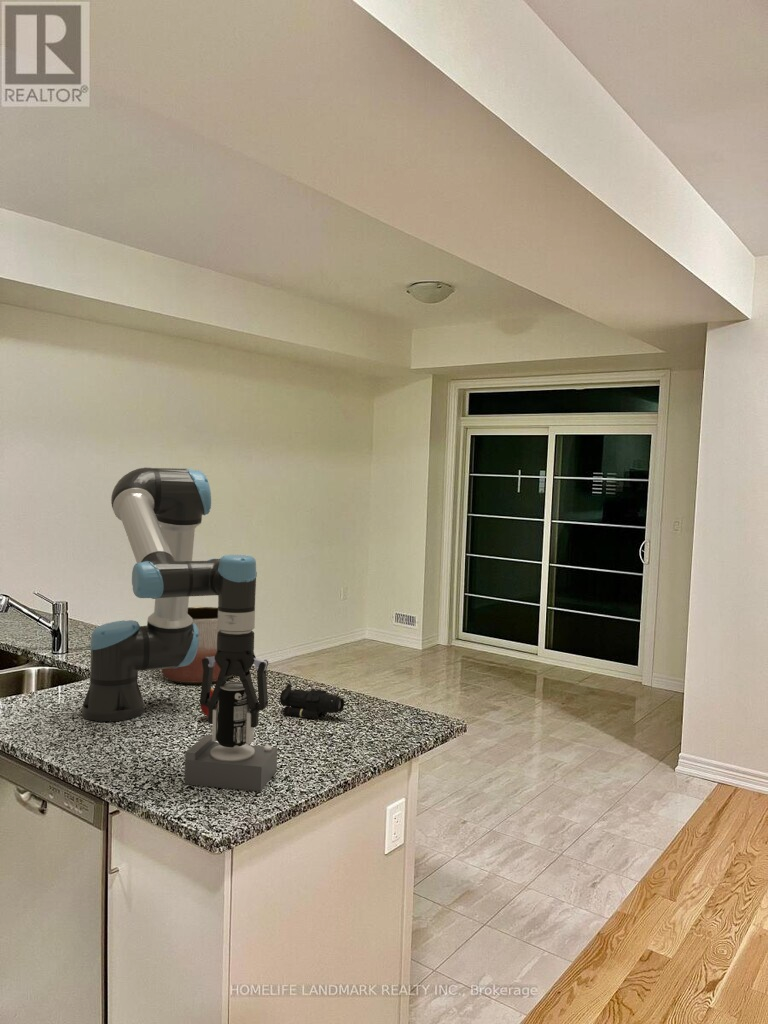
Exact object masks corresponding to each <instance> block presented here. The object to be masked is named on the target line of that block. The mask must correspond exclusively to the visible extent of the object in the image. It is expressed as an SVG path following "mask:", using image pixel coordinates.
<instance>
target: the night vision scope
mask: <svg viewBox="0 0 768 1024" xmlns="http://www.w3.org/2000/svg"><path fill="white" fill-rule="evenodd" d="M292 687H293V685H292V684H291V683H289V684H288V685H287V686H286V687H285V688H284V689H283V690H281V693H280V695H279V703H280V705H281V706H284V709H283V714H284V715H286V716H290V717H291V716H292V717H298V718H299V717H300V718H306V719H307V718H308V719H312V720H316V719H319V716H320V715H324V714H325V715H326V714H334V713H335V714H338V713H341V712H343V710H344V707H345V700H344V698H342V697H340V696H339V695H336V694H333V693H330V694H329V693H328V692H327V691H326V690H324V689H323V690H322V689H321V688H320V689H313V688H311V689H310V690H305V689H304V690H302V689H296V688H295V689H292Z"/></svg>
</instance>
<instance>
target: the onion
mask: <svg viewBox="0 0 768 1024" xmlns="http://www.w3.org/2000/svg"><path fill="white" fill-rule="evenodd" d="M213 691H214V688H213V687H211V692H210V699H211V696H212V693H213ZM199 706H200V711H202V714H204V715H205V716H206V717H207V718H208V717H209V716H208V715H209V709H208V707H206V706H204V705H203V706H202V705H200V704H199ZM217 706H218V705H217Z"/></svg>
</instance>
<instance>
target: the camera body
mask: <svg viewBox="0 0 768 1024" xmlns="http://www.w3.org/2000/svg"><path fill="white" fill-rule="evenodd" d="M184 755H185V756H184V757H185V758H184V759H185V760H184V785H189V786H198V787H199V786H202V787H210V788H221V789H232V790H241V791H251V792H262V791H263V790H264V788H265V787H266V786H267V784H269V782H270V780H272V778H273V776H274V775H275V774H276V772H277V771H278V747H273V746H272V745H265V746H261V745H251V744H245V745H243V746H239V747H224V746H221V745H220V744H219V742H218V741H216V742H215V741H212V734H205V735H204V736H202V737H201V738H200V739H199V740H198V741H197V742H196V743H194V745H192V746H191V747H190V748H189V749H188V750H186V751H185V753H184Z"/></svg>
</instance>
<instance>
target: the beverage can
mask: <svg viewBox="0 0 768 1024" xmlns="http://www.w3.org/2000/svg"><path fill="white" fill-rule="evenodd" d="M220 688H221V689H220V691H219V692H218V710H217V741H216V742H218V743H219V744H220V745H221V746H224V747H239V746H243V745H245V744H246V723H247V712H248V711H249V710H250V707H249V704H248V701H247V695H246V693H245V691H244V689H245V688H244V687H243V684H242V682H241V681H231V682H226V683H225V685H224V686H222V687H221V686H220ZM246 745H247V744H246Z"/></svg>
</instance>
